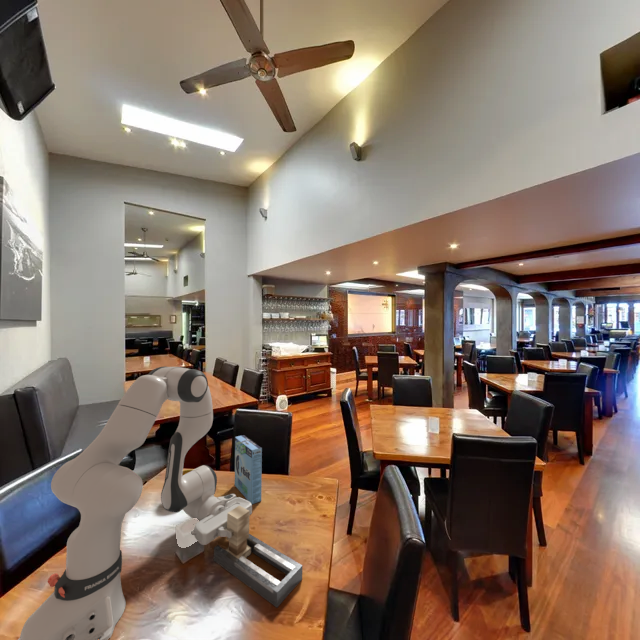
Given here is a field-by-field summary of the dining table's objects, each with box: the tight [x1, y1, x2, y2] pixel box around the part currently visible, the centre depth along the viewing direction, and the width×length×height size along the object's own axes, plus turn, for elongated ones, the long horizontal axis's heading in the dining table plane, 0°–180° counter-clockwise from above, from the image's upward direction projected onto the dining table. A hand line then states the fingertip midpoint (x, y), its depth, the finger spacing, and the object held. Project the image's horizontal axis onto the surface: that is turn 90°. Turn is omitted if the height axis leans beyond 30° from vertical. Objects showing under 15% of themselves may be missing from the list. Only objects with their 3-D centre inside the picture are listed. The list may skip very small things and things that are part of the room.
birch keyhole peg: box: [225, 506, 252, 559], centre depth 96 cm, size 6×6×14 cm
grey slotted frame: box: [213, 533, 303, 608], centre depth 91 cm, size 11×28×4 cm, turn 56°
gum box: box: [234, 434, 263, 505], centre depth 133 cm, size 20×5×23 cm, turn 37°
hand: (240, 529), depth 95 cm, fingers closed on birch keyhole peg, 5 cm apart
